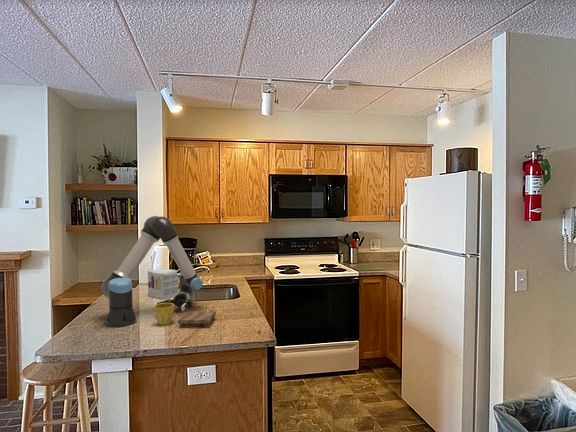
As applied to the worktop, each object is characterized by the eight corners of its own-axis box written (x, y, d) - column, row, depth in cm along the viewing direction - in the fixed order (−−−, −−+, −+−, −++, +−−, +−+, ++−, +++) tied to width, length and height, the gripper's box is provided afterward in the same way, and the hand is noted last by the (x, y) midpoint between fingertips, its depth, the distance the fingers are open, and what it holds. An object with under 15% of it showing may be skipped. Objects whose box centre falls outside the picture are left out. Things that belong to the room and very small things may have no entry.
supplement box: (147, 296, 266) (146, 270, 265) (163, 292, 277) (162, 268, 276) (163, 299, 256) (162, 273, 255) (179, 295, 267) (178, 270, 266)
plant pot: (168, 326, 198) (168, 308, 198) (150, 325, 201) (150, 307, 200) (178, 320, 209) (177, 303, 208) (160, 319, 211) (160, 302, 210)
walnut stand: (178, 327, 196) (177, 320, 196) (187, 318, 212) (187, 311, 212) (208, 327, 196) (208, 320, 196) (215, 318, 212) (215, 311, 212)
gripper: (202, 305, 233) (192, 315, 211) (161, 305, 233) (147, 315, 212) (201, 292, 232) (192, 301, 211) (161, 293, 233) (147, 302, 212)
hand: (169, 308), depth 212 cm, fingers open, 13 cm apart
